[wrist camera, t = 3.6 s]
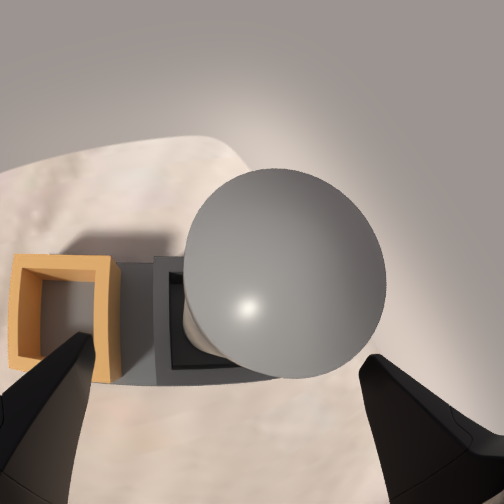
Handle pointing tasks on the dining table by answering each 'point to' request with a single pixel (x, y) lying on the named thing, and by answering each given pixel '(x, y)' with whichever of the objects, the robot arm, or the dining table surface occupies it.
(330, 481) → the dining table surface
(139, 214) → the dining table surface
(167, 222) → the dining table surface
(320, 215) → the plug
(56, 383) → the robot arm
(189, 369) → the two-tone square organizer tray
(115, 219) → the dining table surface
